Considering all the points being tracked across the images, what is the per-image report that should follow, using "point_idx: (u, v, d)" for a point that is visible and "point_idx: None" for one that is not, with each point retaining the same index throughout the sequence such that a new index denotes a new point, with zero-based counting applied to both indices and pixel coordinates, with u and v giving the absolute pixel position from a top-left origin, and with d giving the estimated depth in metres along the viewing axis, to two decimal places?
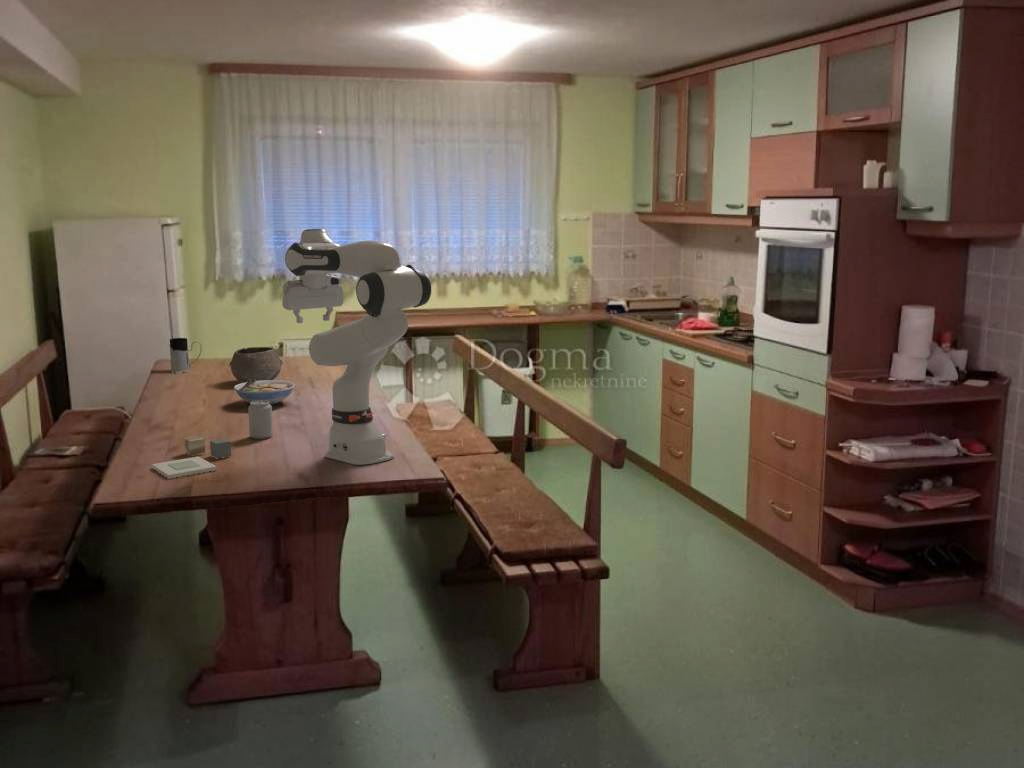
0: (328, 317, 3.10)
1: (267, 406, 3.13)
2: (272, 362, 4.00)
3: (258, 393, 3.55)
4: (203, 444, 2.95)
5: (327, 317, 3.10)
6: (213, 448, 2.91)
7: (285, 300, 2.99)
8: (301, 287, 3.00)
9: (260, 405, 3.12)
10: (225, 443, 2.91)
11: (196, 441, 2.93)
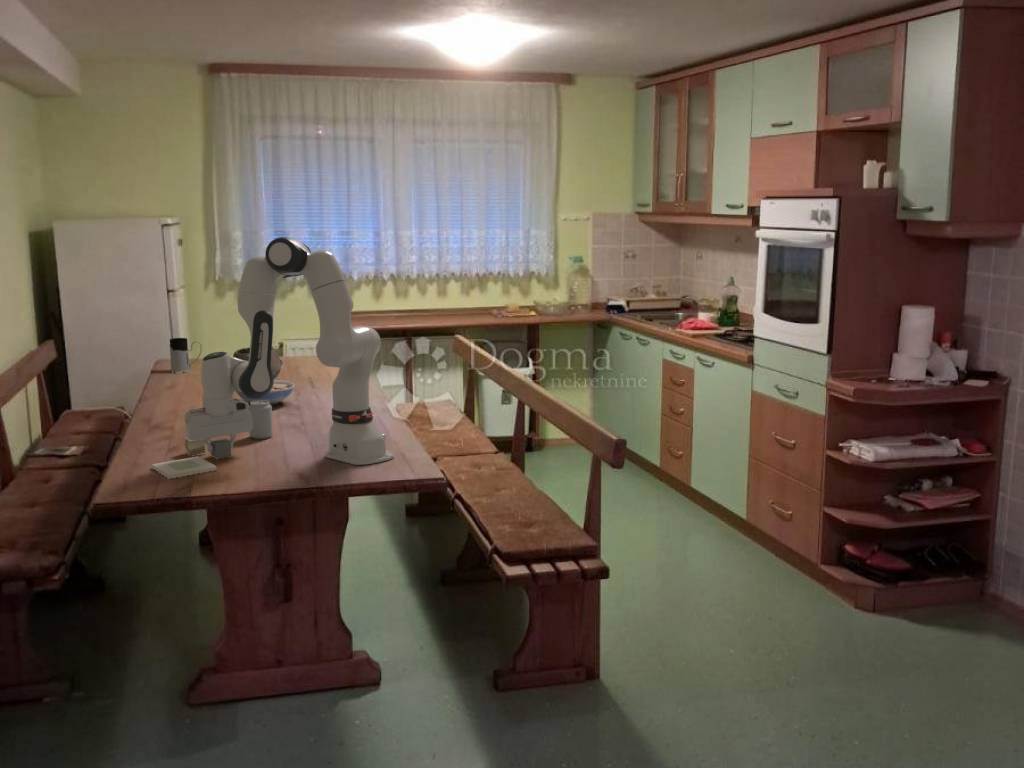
0: (232, 444, 2.93)
1: (267, 406, 3.13)
2: (272, 362, 4.00)
3: None
4: (203, 444, 2.95)
5: None
6: None
7: (187, 430, 2.84)
8: (204, 415, 2.86)
9: (260, 405, 3.12)
10: (225, 443, 2.91)
11: (196, 441, 2.93)
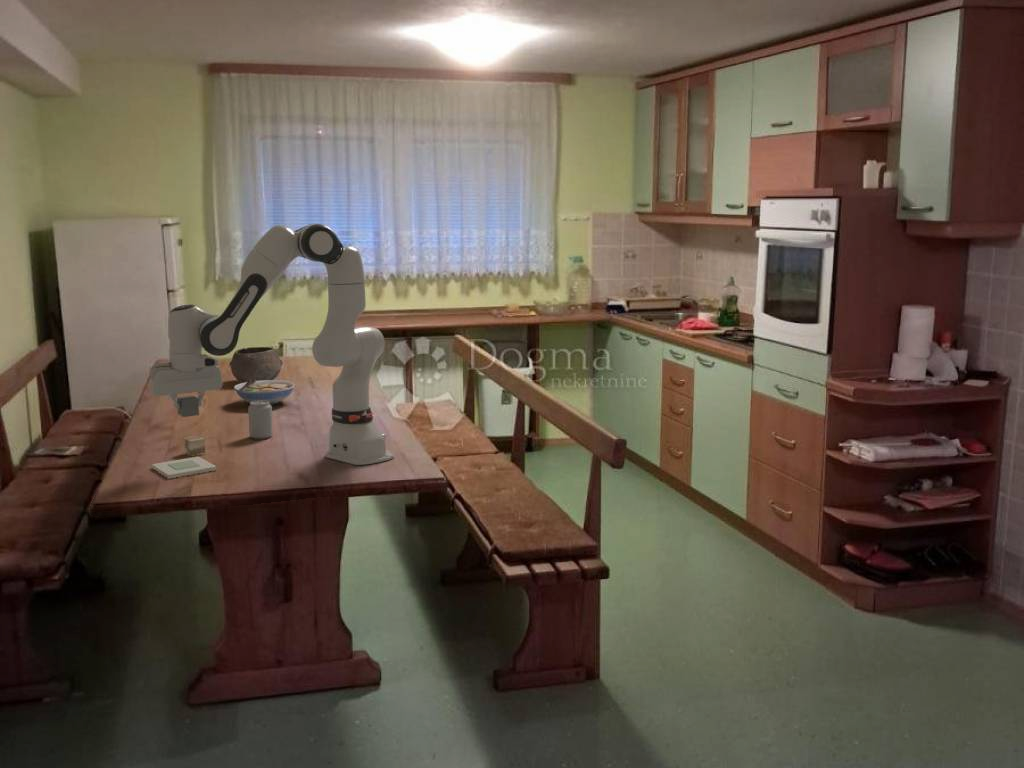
0: (200, 402, 2.80)
1: (267, 406, 3.13)
2: (272, 362, 4.00)
3: (258, 393, 3.55)
4: (203, 444, 2.95)
5: (198, 402, 2.80)
6: None
7: (152, 385, 2.71)
8: (170, 370, 2.72)
9: (260, 405, 3.12)
10: (192, 400, 2.77)
11: (196, 441, 2.93)
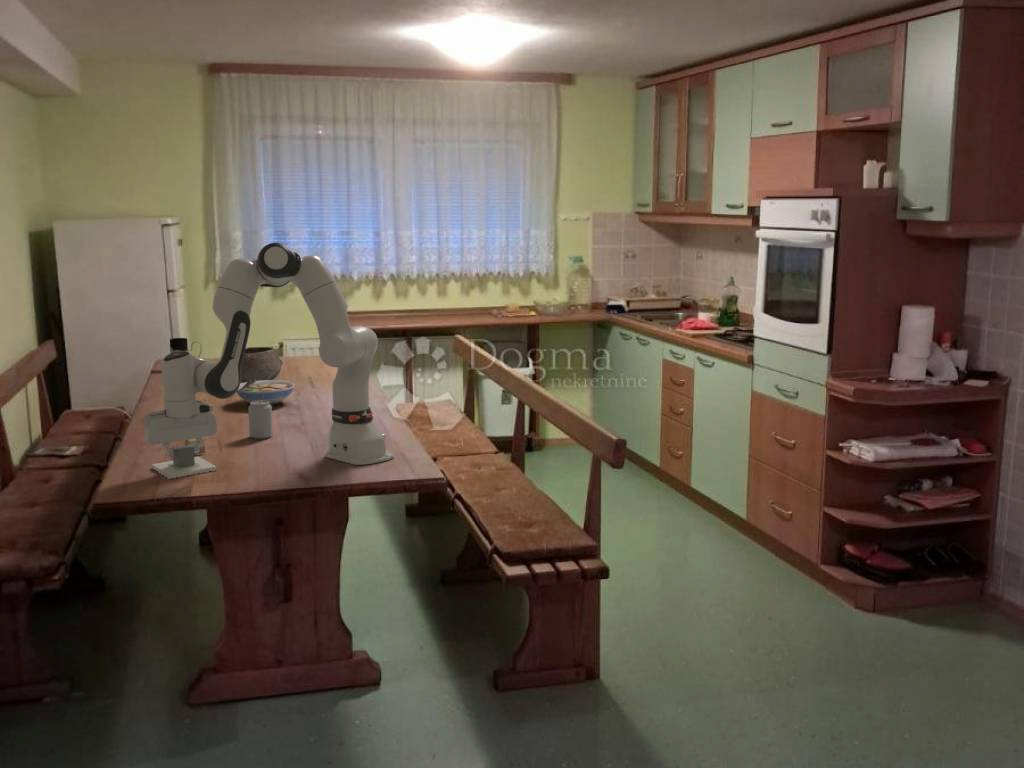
0: (198, 449, 2.80)
1: (267, 406, 3.13)
2: (272, 362, 4.00)
3: (258, 393, 3.55)
4: (203, 444, 2.95)
5: (196, 449, 2.79)
6: (175, 456, 2.76)
7: (147, 434, 2.70)
8: (165, 418, 2.71)
9: (260, 405, 3.12)
10: (188, 450, 2.76)
11: (196, 441, 2.93)
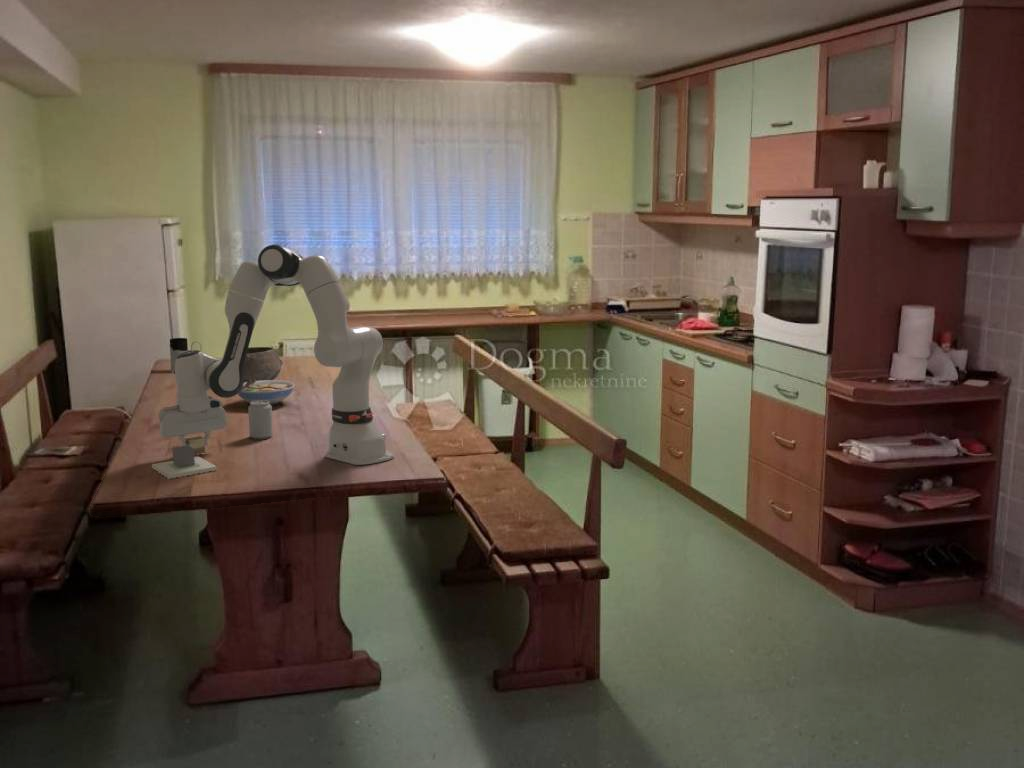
0: (206, 442, 2.96)
1: (267, 406, 3.13)
2: (272, 362, 4.00)
3: (258, 393, 3.55)
4: (203, 444, 2.95)
5: (205, 442, 2.96)
6: (175, 456, 2.76)
7: (161, 427, 2.87)
8: (178, 413, 2.89)
9: (260, 405, 3.12)
10: (188, 450, 2.76)
11: (196, 441, 2.93)
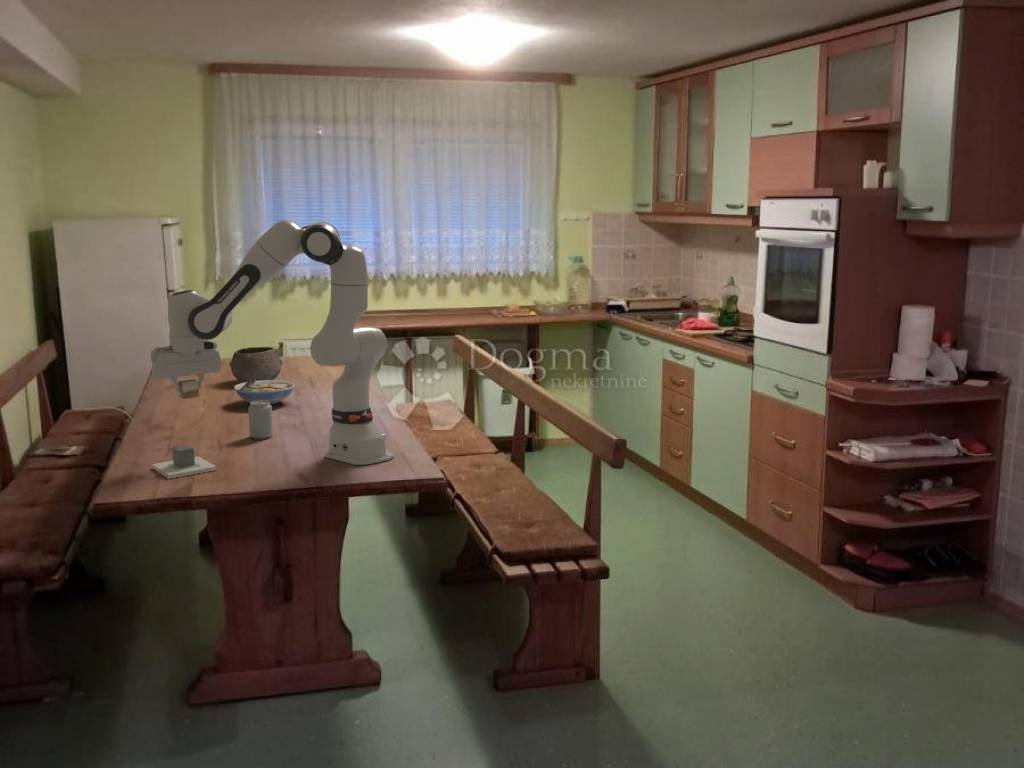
0: (200, 385, 2.89)
1: (267, 406, 3.13)
2: (272, 362, 4.00)
3: (258, 393, 3.55)
4: (197, 386, 2.87)
5: (198, 385, 2.88)
6: (175, 456, 2.76)
7: (153, 368, 2.80)
8: (171, 353, 2.81)
9: (260, 405, 3.12)
10: (188, 450, 2.76)
11: (189, 383, 2.85)
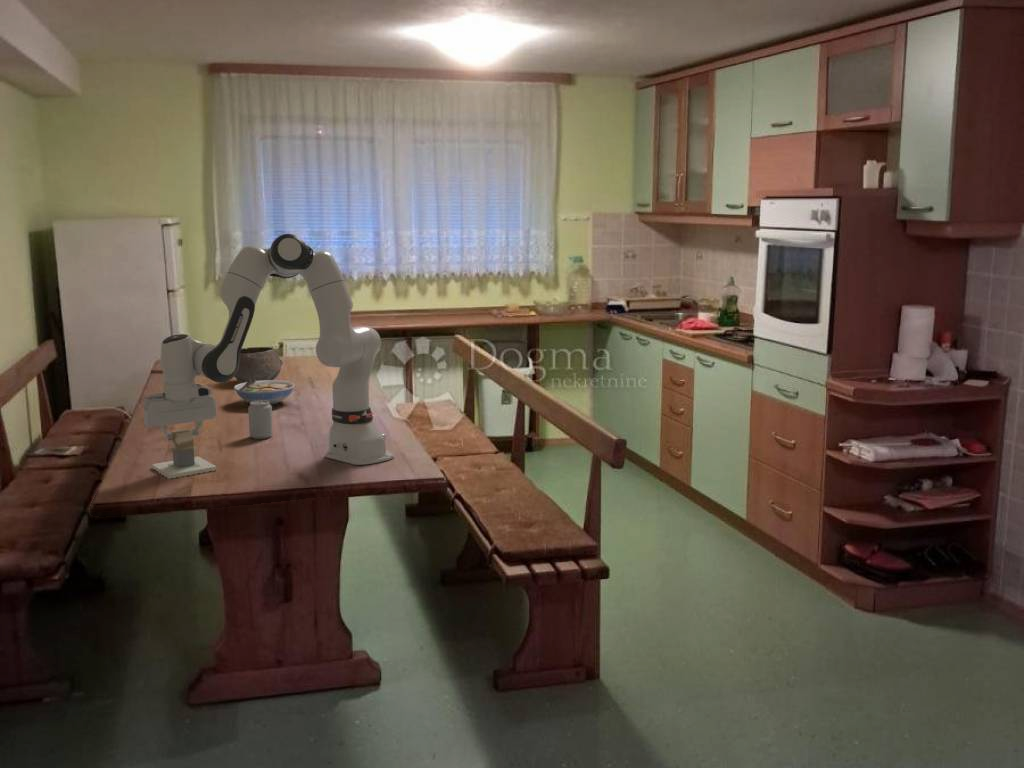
0: (197, 432, 2.79)
1: (267, 406, 3.13)
2: (272, 362, 4.00)
3: (258, 393, 3.55)
4: (191, 437, 2.76)
5: (196, 432, 2.78)
6: (175, 456, 2.76)
7: (146, 417, 2.69)
8: (164, 401, 2.70)
9: (260, 405, 3.12)
10: (188, 450, 2.76)
11: (184, 434, 2.75)
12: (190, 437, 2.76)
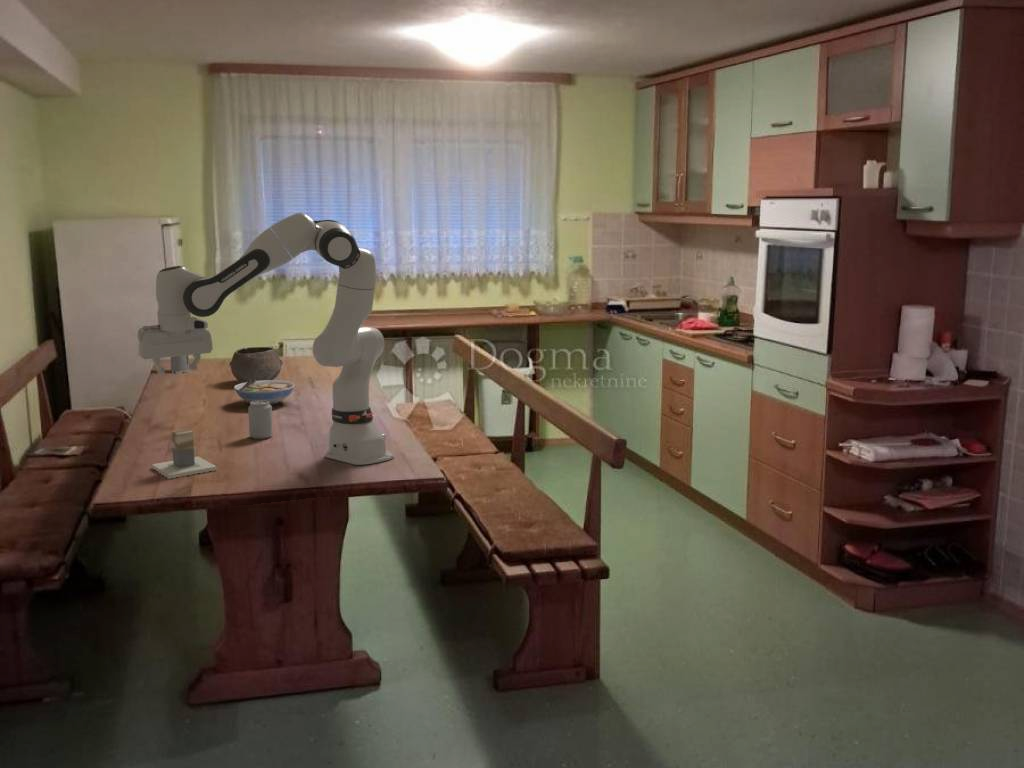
0: (195, 366, 2.75)
1: (267, 406, 3.13)
2: (272, 362, 4.00)
3: (258, 393, 3.55)
4: (191, 437, 2.76)
5: (194, 366, 2.75)
6: (175, 456, 2.76)
7: (141, 348, 2.65)
8: (159, 333, 2.67)
9: (260, 405, 3.12)
10: (188, 450, 2.76)
11: (184, 434, 2.75)
12: (190, 437, 2.76)
